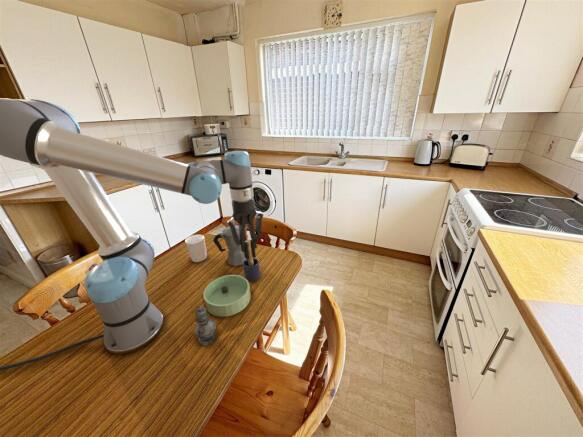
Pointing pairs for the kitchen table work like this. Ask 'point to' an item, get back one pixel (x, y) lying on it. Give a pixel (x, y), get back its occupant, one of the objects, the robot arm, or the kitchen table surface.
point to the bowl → (227, 295)
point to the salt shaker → (204, 327)
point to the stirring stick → (250, 253)
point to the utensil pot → (251, 270)
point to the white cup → (196, 247)
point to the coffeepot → (231, 246)
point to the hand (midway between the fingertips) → (250, 256)
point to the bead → (224, 289)
